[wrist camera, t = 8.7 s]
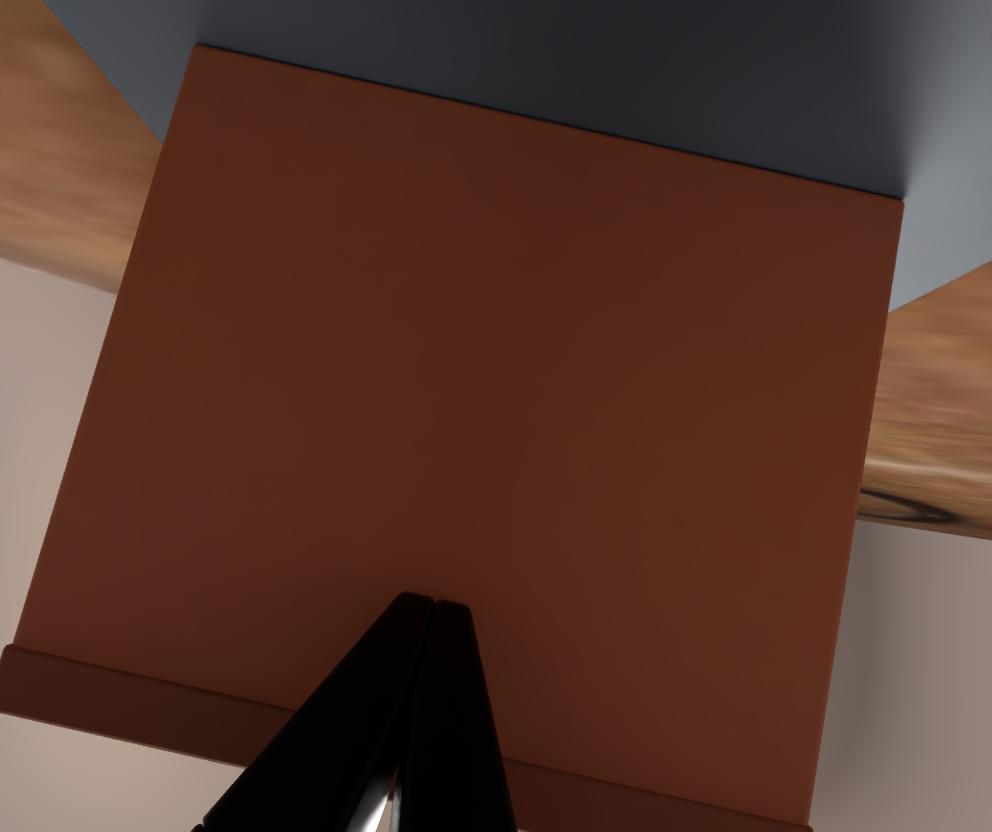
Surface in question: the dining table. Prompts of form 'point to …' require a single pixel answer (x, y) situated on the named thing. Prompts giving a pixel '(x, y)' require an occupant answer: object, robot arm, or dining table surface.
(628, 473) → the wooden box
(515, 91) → the mat
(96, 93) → the dining table surface
